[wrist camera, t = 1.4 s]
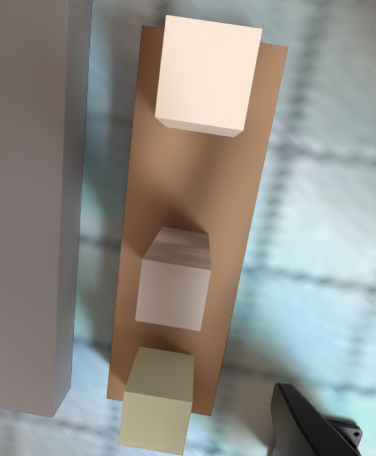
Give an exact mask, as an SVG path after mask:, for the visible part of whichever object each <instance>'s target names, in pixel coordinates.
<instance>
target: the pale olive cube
mask: <svg viewBox="0 0 376 456" xmlns="http://www.w3.org/2000/svg"><path fill="white" fill-rule="evenodd" d="M194 358H195V355H188V354H182V353H176V352H170V351H164V350H158V349H152V348H146V347H140V346H139V349H138V352H137V355H136V358H135V361H134V364H133V367H132V369H131V372H130V375H129V378H128V381H127V384H126V387H125V390H124V396H123V405H122V414H121V424H120V433H119V442H118V445H123V446H129V447H135V448H140V449H146V450H152V451H158V452H164V453H170V454H176V455H182V456H183V451H184V446H185V441H186V435H187V430H188V424H189V419H190V414H191V408H192V403H193V380H194Z"/></svg>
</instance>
